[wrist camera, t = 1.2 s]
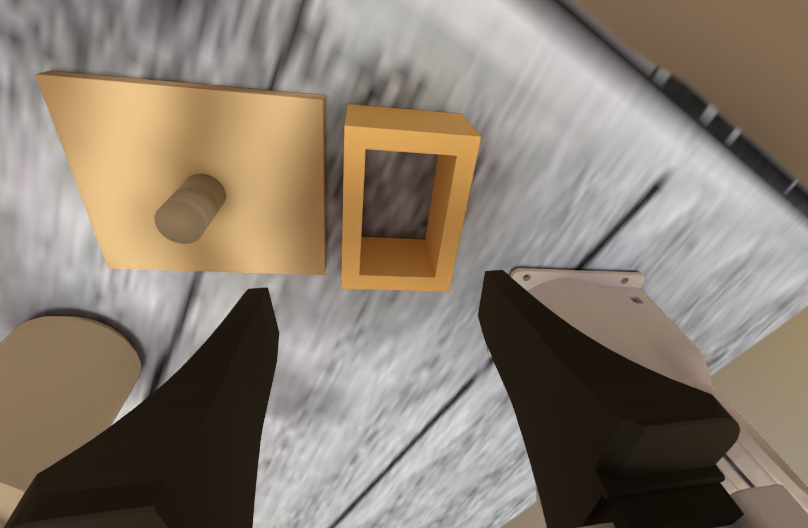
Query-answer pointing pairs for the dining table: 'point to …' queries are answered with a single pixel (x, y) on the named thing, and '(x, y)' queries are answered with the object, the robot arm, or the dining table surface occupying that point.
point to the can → (57, 394)
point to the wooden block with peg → (195, 172)
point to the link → (436, 254)
